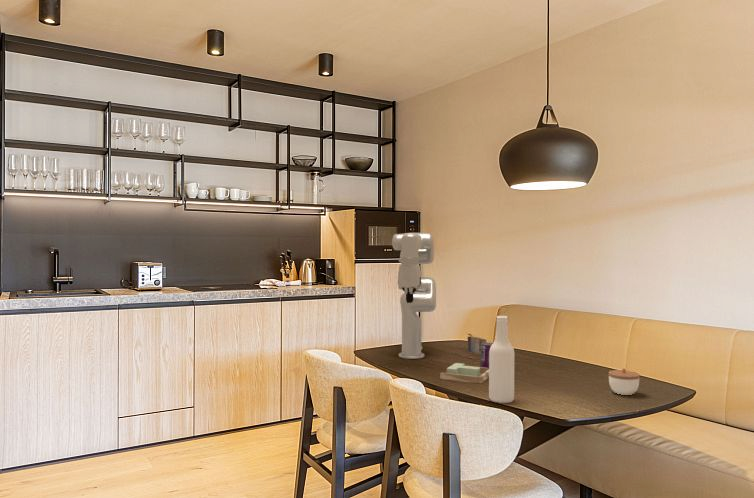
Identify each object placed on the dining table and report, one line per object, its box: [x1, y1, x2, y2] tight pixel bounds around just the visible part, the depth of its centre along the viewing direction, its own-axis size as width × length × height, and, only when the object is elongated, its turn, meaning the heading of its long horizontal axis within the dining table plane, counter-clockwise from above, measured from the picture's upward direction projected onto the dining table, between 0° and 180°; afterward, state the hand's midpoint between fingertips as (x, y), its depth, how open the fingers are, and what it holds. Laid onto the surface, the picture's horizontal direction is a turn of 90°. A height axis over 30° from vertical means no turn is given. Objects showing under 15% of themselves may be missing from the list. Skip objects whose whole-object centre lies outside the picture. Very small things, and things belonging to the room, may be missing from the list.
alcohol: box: [488, 315, 515, 404], centre depth 205 cm, size 9×9×30 cm
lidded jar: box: [608, 368, 641, 396], centre depth 214 cm, size 11×11×9 cm
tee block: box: [446, 362, 481, 377], centre depth 241 cm, size 12×12×4 cm
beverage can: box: [479, 342, 494, 368], centre depth 250 cm, size 7×7×12 cm
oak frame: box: [439, 365, 489, 384], centre depth 240 cm, size 18×17×2 cm
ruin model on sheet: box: [467, 333, 487, 355], centre depth 293 cm, size 11×3×10 cm, turn 32°
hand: (409, 302), depth 258 cm, fingers closed
